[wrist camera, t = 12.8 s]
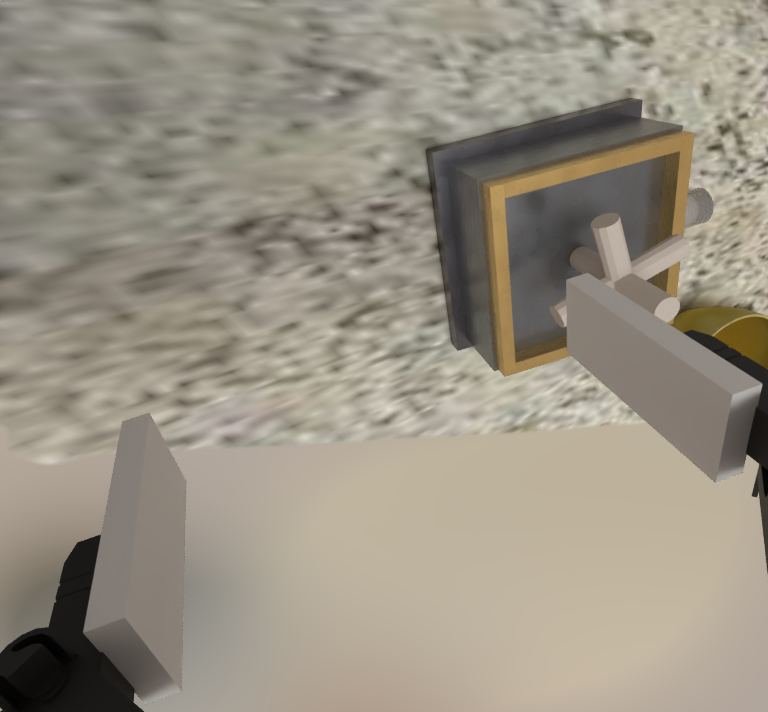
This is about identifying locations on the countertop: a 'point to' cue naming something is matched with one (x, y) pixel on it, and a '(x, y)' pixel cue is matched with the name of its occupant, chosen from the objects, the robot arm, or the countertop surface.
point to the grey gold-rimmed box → (551, 219)
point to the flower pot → (730, 329)
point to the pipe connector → (627, 268)
